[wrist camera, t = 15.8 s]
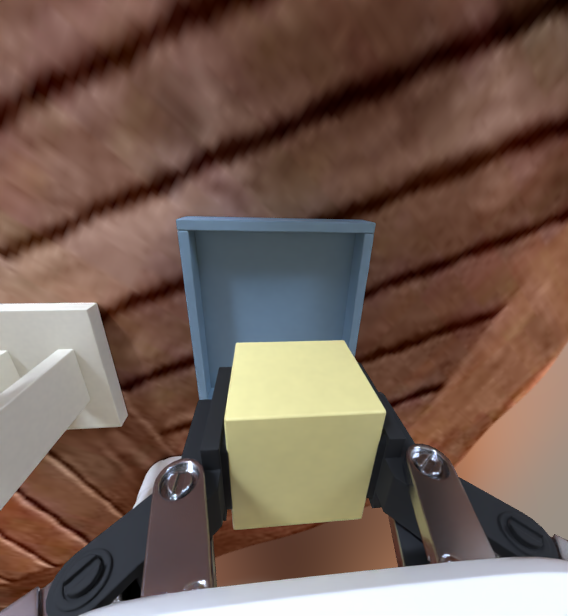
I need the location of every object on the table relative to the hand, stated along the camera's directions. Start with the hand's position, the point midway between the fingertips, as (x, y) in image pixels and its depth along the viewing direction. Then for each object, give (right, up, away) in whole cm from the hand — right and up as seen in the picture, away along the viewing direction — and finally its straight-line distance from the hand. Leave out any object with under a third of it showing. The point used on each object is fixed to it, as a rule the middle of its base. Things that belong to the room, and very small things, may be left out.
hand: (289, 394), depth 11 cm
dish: (-1, +3, +8) cm, 8 cm away
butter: (0, 0, 0) cm, 0 cm away
